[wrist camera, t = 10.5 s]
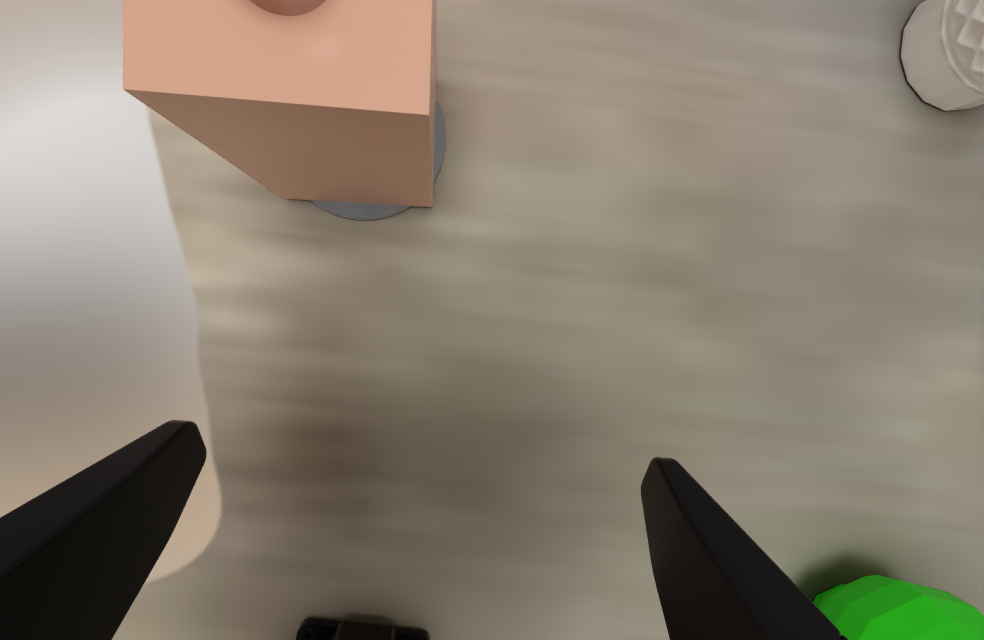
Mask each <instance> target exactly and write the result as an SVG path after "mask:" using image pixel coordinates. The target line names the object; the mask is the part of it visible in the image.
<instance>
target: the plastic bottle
mask: <svg viewBox="0 0 984 640" xmlns="http://www.w3.org/2000/svg"><path fill="white" fill-rule="evenodd" d="M813 603H814V604H815V605H816V606H817V607H818V609H819V610H820V611H821V612H822V613H823V614H824V615H825V616H826V617H827V618H828V619H829V620H830V621H831V622H832V623H833V624H834V625H835V626H836V627H837V628H838V629H839V631H840V635H844V636H845V637H847V639H848V640H984V616H983V615H982V614H981V613H980V612H979V611H978V610H977V609H976V608H975V607H974V606H972V605H970V604H968V603H966V602H965V601H963V600H961V599H959V598H958V597H956V596H954V595H952V594H951V593H949V592H946V591H942V590H938V589H934V588H930V587H926V586H922V585H918V584H914V583H910V582H906V581H902V580H897V579H893V578H889V577H885V576H880V575H871V576H864V577H862V578H859V579H857V580H855V581H853V582H850V583H848V584H846V585H844V584H840V585H838V586H836V587H833V588H831V589H829V590H827V591H825V592H823V593H821V594H818V595H817V596H816V598H815V599H814V601H813Z"/></svg>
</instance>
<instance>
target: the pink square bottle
mask: <svg viewBox="0 0 984 640" xmlns="http://www.w3.org/2000/svg"><path fill="white" fill-rule="evenodd" d="M123 8H124V10H123V11H124V13H123V25H124V26H123V89H124V90H125V91H127V92H128V93H129V94H131V95H132V96H134V97H136V98H137V99H138V100H140V101H141V102H143V103H144V104H145V105H147V106H148V107H150V108H151V109H153V110H154V111H156V112H157V113H159V114H160V115H162V116H163V117H164V118H166V119H167V120H169V121H170V122H172V123H173V124H175V125H176V126H178V127H179V128H180V129H182V130H183V131H185V132H186V133H188V134H189V135H191V136H192V137H194V138H195V139H197V140H198V141H199V142H201V143H202V144H204V145H205V146H207V147H208V148H210V149H211V150H213V151H214V152H216V153H217V154H218V155H220V156H221V157H223V158H224V159H226V160H227V161H229V162H230V163H232V164H233V165H234V166H236V167H237V168H239V169H240V170H242V171H243V172H245V173H246V174H248V175H249V176H251V177H252V178H253V179H255V180H256V181H258V182H259V183H261V184H262V185H264V186H265V187H267V188H268V189H269V190H271V191H272V192H274V193H275V194H277V195H278V196H280V197H281V198H285V199H302V200H319V201H336V202H353V203H370V204H387V205H404V206H421V207H433V186H434V150H435V114H436V77H437V0H124V7H123Z"/></svg>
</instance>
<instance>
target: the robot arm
mask: <svg viewBox="0 0 984 640" xmlns="http://www.w3.org/2000/svg"><path fill="white" fill-rule="evenodd" d="M205 460H206V447H205V445H204V442H203V440H202V437H201V434H200V432H199V429H198V427H197V425H196V424H195V423H194V422H191V421H181V420H172V421H168V422H166V423H164V424H163V425H161V426H159V427H157V428H156V429H154V430H152V431H150V432H149V433H147V434H145V435H144V436H142V437H140V438H138V439H136V440H135V441H133V442H131V443H129V444H128V445H126V446H124V447H122V448H121V449H119V450H117V451H116V452H114V453H112V454H110V455H109V456H107V457H105V458H104V459H102V460H100V461H98V462H96V463H95V464H93V465H91V466H90V467H88V468H86V469H84V470H82V471H81V472H79V473H77V474H76V475H74V476H72V477H71V478H69V479H67V480H65V481H63V482H62V483H60V484H58V485H56V486H55V487H53V488H51V489H49V490H48V491H46V492H44V493H42V494H41V495H39V496H37V497H36V498H34V499H32V500H30V501H28V502H27V503H25V504H23V505H22V506H20V507H18V508H16V509H15V510H13V511H11V512H9V513H8V514H6V515H4V516H2V517H1V518H0V640H112V638H113V636H114V634H115V633H116V631H117V629H118V628H119V626H120V624H121V622H122V621H123V619H124V617H125V615H126V614H127V612H128V610H129V608H130V607H131V605H132V603H133V602H134V600H135V598H136V596H137V595H138V593H139V591H140V589H141V588H142V586H143V584H144V583H145V581H146V579H147V577H148V576H149V574H150V572H151V570H152V569H153V567H154V565H155V563H156V562H157V560H158V558H159V556H160V554H161V553H162V551H163V549H164V548H165V546H166V544H167V542H168V540H169V538H170V537H171V534H172V533H173V531H174V528H175V527H176V524H177V522H178V520H179V518H180V516H181V513H182V511H183V509H184V507H185V505H186V502H187V500H188V498H189V496H190V494H191V491H192V489H193V487H194V485H195V483H196V480H197V478H198V476H199V474H200V472H201V469H202V467H203V465H204V463H205ZM641 497H642V504H643V511H644V517H645V524H646V531H647V538H648V544H649V551H650V558H651V564H652V569H653V574H654V579H655V583H656V587H657V591H658V595H659V599H660V603H661V606H662V610H663V614H664V618H665V622H666V626H667V630H668V634H669V637H670V640H848V639H847V637H845V636H844V635H840V631H839V629H838V628H837V627H836V626H835V625H834V624H833V623H832V622H831V621H830V620H829V619H828V618H827V617H826V616H825V615H824V614H823V613H822V612H821V611H820V610H819V609H818V607H817V606H816V605H815V604H814V603H813V602H812V601H811V600H810V599H809V598H808V597H807V596H806V595H805V594H804V593H803V592H802V591H801V590H800V589H799V588H798V587H797V586H796V585H795V584H794V582H793V581H792V580H791V579H790V578H789V577H788V576H787V575H786V574H785V573H784V572H783V571H782V570H781V569H780V568H779V567H778V566H777V565H776V564H775V563H774V562H773V561H772V560H771V559H770V557H769V556H768V555H767V554H766V553H765V552H764V551H763V550H762V549H761V548H760V547H759V546H758V545H757V544H756V543H755V542H754V541H753V540H752V539H751V538H750V537H749V536H748V535H747V534H746V532H745V531H744V530H743V529H742V528H741V527H740V526H739V525H738V524H737V523H736V522H735V521H734V520H733V519H732V518H731V517H730V516H729V515H728V514H727V513H726V512H725V511H724V510H723V509H722V507H721V506H720V505H719V504H718V503H717V502H716V501H715V500H714V499H713V498H712V497H711V496H710V495H709V494H708V493H707V492H706V491H705V490H704V489H703V488H702V487H701V486H700V485H699V483H698V482H697V481H696V480H695V479H694V478H693V477H692V476H691V475H690V474H689V473H688V472H687V471H686V470H685V469H684V468H683V467H682V466H681V465H680V464H679V463H678V462H677V461H676V460H674V459H671V458H660V457H655V458H653V459H652V460H651V462H650V464H649V467H648V469H647V472H646V474H645V476H644V479H643V481H642V485H641ZM306 629H311V630H312V631H313V632H312V633H308V632H306V631H305V630H306ZM296 640H430V637H429V635H428V633H427V632H425V631H422V630H413V629H404V628H395V627H391V626H382V625H373V624H364V623H355V622H346V621H344V622H341V621H332V620H323V619H314V618H309V619H306V620H304V621H303V622H302V623H301V626H300V628H299V630H298V633H297V637H296Z"/></svg>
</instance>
